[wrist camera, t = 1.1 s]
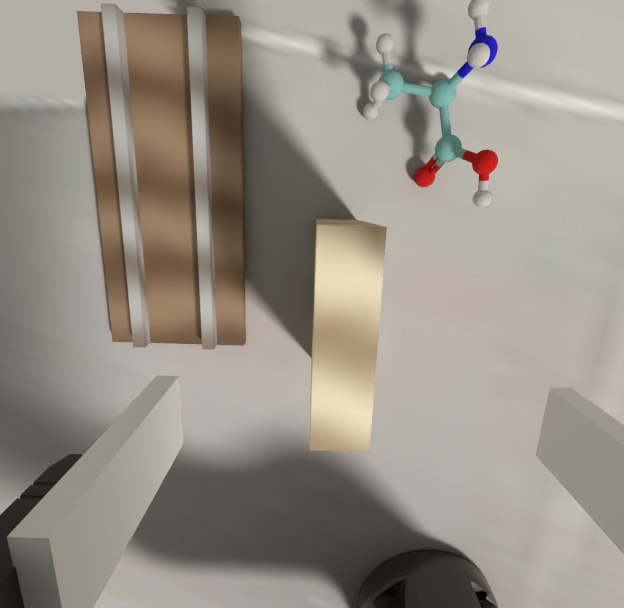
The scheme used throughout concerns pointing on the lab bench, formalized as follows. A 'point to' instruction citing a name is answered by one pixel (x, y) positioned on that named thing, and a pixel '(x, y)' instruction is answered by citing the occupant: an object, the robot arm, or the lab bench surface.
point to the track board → (168, 172)
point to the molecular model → (442, 103)
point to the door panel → (345, 332)
